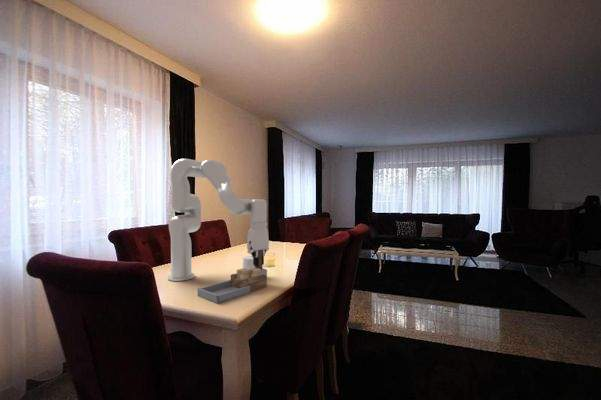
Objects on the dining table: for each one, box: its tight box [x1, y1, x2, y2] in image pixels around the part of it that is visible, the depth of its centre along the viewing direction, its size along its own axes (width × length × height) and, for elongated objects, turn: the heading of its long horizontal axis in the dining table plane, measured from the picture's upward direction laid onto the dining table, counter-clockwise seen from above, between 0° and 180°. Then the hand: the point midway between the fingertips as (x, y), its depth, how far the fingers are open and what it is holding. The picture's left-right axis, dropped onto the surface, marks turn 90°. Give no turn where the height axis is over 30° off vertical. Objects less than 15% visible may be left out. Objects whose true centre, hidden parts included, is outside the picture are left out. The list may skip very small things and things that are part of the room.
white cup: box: [242, 255, 255, 269], centre depth 145 cm, size 8×8×10 cm
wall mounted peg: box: [255, 250, 268, 276], centre depth 134 cm, size 7×4×12 cm, turn 51°
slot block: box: [230, 272, 268, 294], centre depth 129 cm, size 13×10×6 cm
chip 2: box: [249, 268, 261, 278], centre depth 129 cm, size 4×4×4 cm
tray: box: [197, 279, 251, 305], centre depth 119 cm, size 14×16×3 cm
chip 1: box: [236, 267, 249, 280], centre depth 128 cm, size 4×4×4 cm
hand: (258, 264), depth 134 cm, fingers closed on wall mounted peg, 2 cm apart
